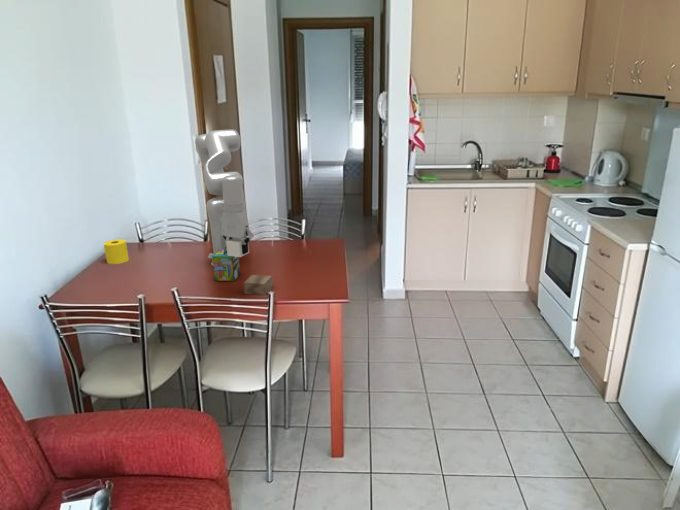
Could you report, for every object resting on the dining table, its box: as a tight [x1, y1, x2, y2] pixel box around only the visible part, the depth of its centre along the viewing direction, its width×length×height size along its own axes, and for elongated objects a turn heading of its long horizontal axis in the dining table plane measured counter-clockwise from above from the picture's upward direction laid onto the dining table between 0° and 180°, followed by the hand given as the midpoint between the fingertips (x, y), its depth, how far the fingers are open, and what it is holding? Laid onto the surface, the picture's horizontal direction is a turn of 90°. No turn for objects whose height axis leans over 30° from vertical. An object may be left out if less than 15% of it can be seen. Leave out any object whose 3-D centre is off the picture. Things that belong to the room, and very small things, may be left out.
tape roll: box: [103, 238, 130, 265], centre depth 257 cm, size 10×10×9 cm
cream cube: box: [226, 238, 250, 258], centre depth 208 cm, size 6×6×6 cm
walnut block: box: [243, 274, 274, 296], centre depth 215 cm, size 9×9×5 cm
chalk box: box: [211, 246, 241, 282], centre depth 229 cm, size 9×9×15 cm
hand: (238, 251), depth 208 cm, fingers closed on cream cube, 6 cm apart
